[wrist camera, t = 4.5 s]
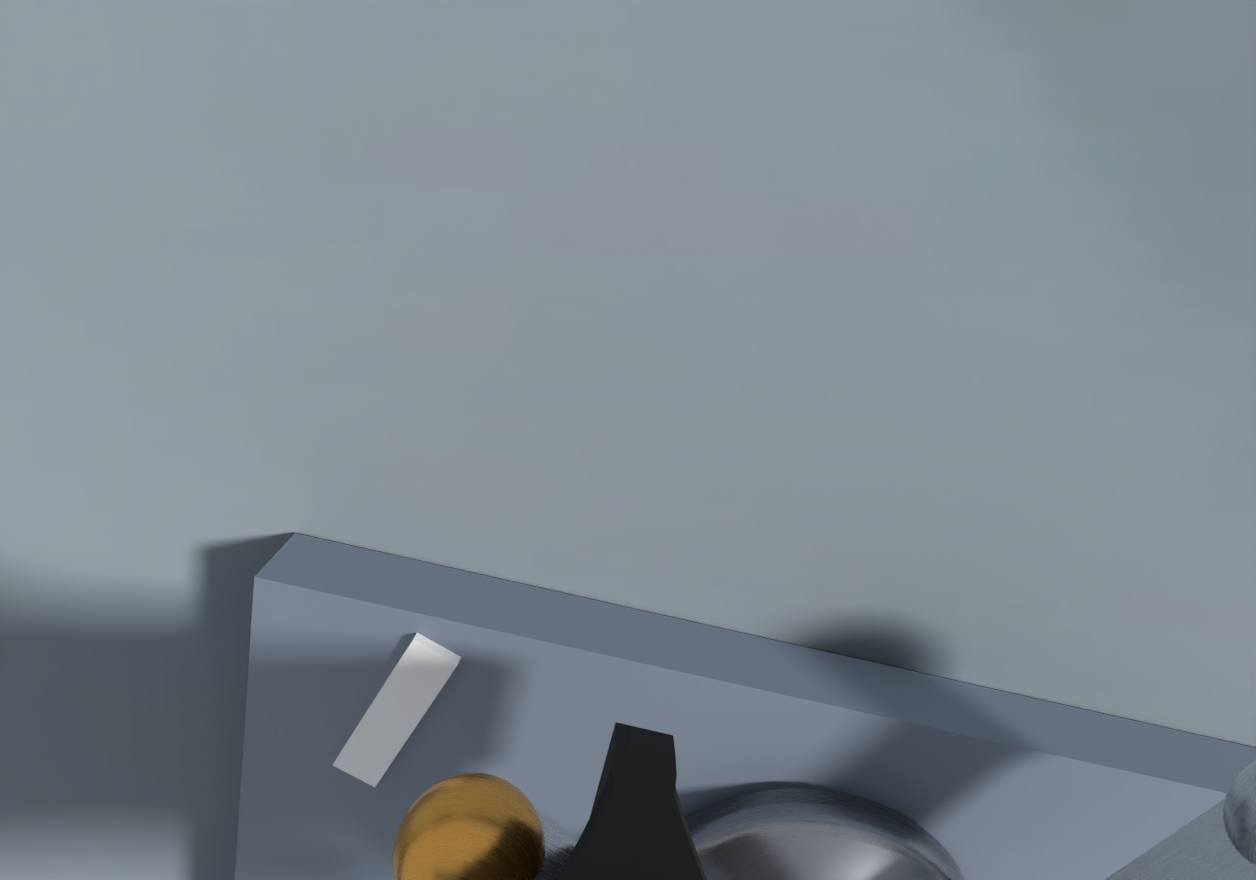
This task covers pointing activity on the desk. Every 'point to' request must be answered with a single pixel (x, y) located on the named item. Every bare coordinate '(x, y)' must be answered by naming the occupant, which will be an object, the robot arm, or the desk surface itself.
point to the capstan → (773, 838)
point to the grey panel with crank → (655, 725)
